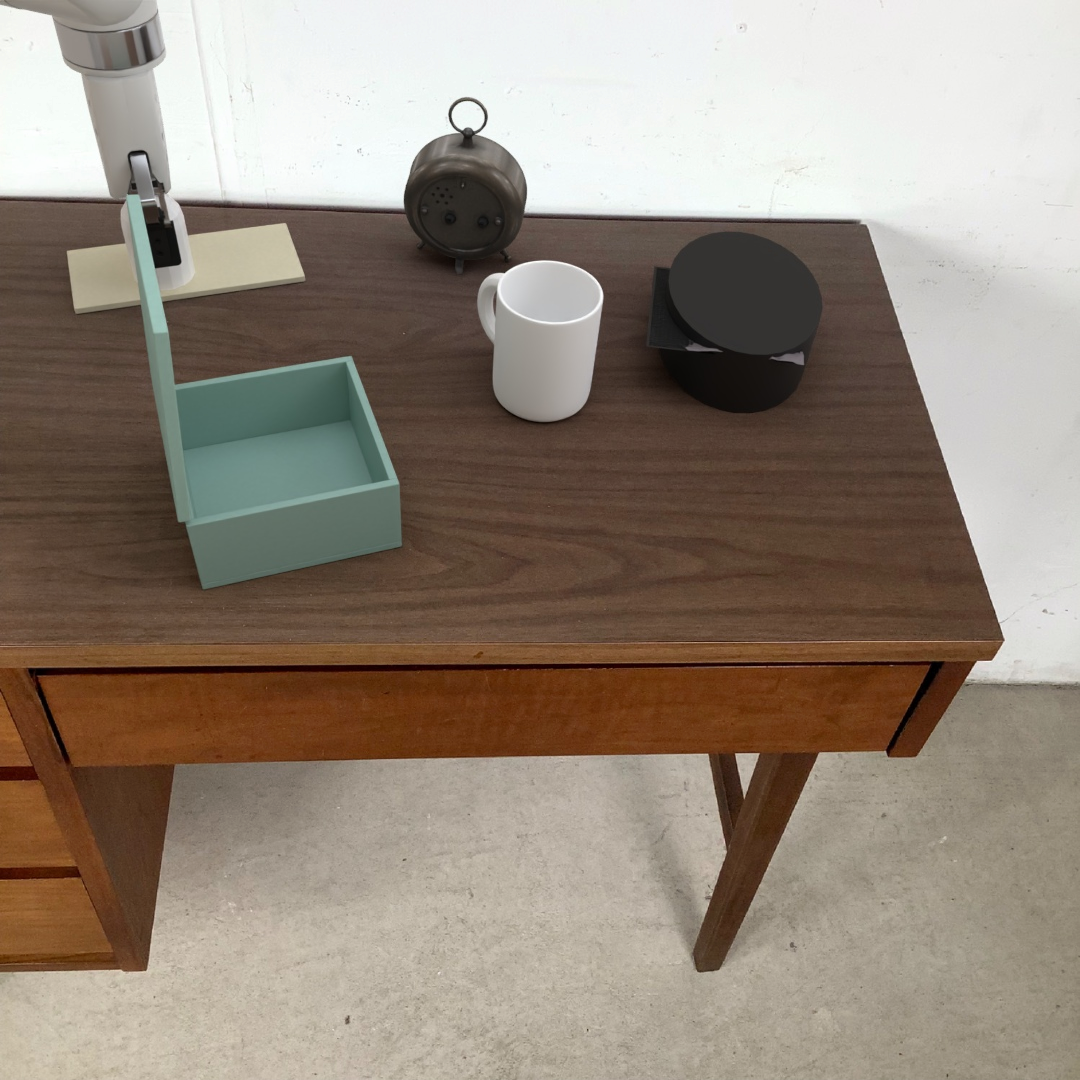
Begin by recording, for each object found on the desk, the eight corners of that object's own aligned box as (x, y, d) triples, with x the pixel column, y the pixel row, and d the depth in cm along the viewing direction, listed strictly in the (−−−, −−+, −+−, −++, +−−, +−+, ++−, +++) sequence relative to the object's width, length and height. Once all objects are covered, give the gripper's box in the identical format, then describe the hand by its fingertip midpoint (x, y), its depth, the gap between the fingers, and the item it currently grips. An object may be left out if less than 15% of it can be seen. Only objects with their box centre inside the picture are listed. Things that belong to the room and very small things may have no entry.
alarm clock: (523, 252, 104) (534, 90, 91) (517, 285, 100) (528, 120, 88) (411, 239, 104) (408, 75, 91) (401, 271, 100) (396, 105, 88)
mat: (75, 314, 92) (73, 308, 92) (68, 256, 98) (66, 250, 97) (305, 281, 98) (305, 275, 98) (286, 228, 103) (285, 222, 103)
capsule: (197, 255, 98) (182, 176, 92) (192, 290, 95) (175, 210, 89) (137, 256, 98) (118, 176, 92) (130, 291, 94) (109, 210, 88)
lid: (139, 193, 66) (125, 194, 66) (168, 331, 58) (153, 332, 58) (163, 381, 77) (151, 382, 77) (191, 521, 69) (178, 523, 68)
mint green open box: (356, 419, 86) (351, 355, 81) (402, 546, 78) (399, 483, 73) (175, 452, 82) (158, 387, 77) (202, 590, 74) (186, 526, 69)
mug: (443, 365, 92) (443, 262, 84) (513, 328, 96) (520, 227, 88) (539, 440, 86) (548, 338, 79) (609, 397, 90) (625, 296, 83)
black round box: (800, 308, 103) (818, 238, 97) (809, 423, 90) (831, 349, 84) (649, 292, 103) (659, 221, 98) (638, 403, 91) (648, 329, 85)
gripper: (50, -9, 85) (101, 188, 98) (66, 94, 74) (121, 299, 87) (149, -15, 87) (186, 179, 100) (177, 84, 76) (214, 286, 89)
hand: (155, 234), depth 93 cm, fingers open, 9 cm apart
